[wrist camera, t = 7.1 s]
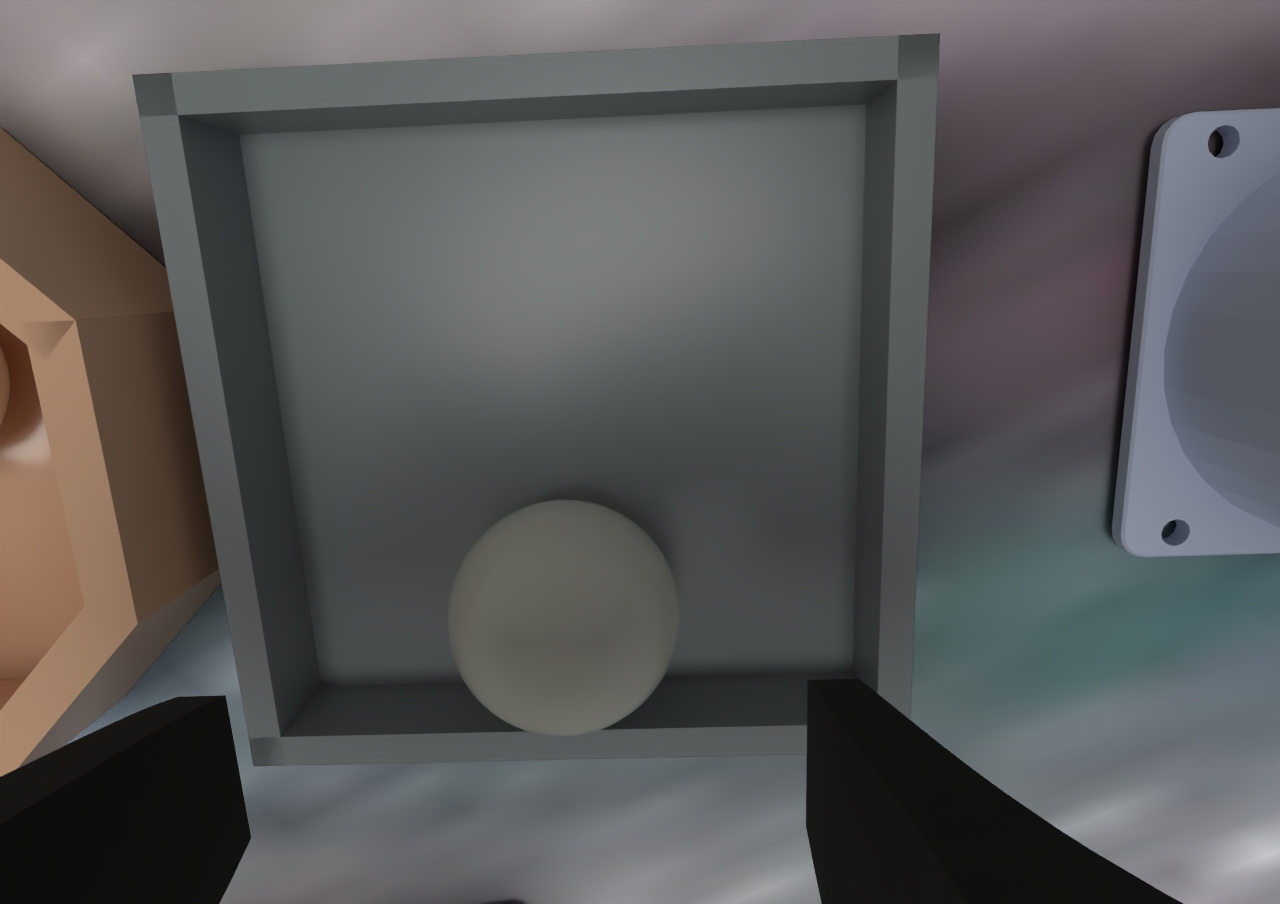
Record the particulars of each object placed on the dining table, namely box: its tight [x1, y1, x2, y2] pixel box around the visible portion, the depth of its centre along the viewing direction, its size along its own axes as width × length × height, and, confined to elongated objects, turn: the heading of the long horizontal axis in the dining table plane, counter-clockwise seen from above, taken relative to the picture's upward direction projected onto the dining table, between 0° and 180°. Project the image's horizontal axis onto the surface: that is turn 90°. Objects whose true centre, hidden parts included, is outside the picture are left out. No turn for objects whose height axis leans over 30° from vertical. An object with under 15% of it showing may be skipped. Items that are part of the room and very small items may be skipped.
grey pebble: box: [447, 499, 680, 736], centre depth 13 cm, size 4×4×4 cm
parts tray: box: [132, 33, 940, 766], centre depth 14 cm, size 12×12×2 cm
